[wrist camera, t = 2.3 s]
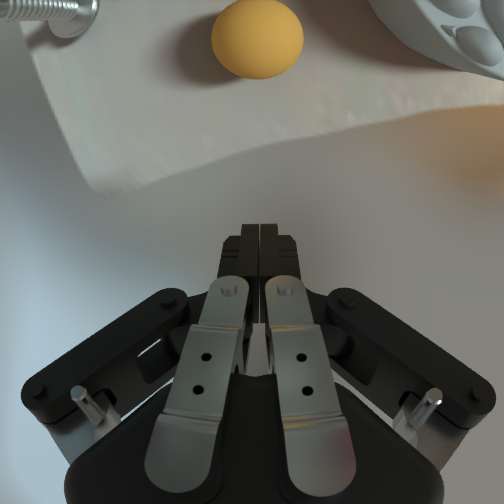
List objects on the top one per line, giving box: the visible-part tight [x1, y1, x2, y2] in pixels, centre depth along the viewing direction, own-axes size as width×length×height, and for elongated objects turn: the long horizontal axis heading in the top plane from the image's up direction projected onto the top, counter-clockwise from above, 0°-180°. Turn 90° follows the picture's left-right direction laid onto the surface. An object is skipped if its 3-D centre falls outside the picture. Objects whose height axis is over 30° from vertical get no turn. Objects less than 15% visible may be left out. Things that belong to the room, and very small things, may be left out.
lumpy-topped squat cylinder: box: [368, 0, 504, 81], centre depth 13 cm, size 10×13×9 cm
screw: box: [0, 0, 100, 38], centre depth 12 cm, size 13×5×5 cm
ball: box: [211, 0, 304, 79], centre depth 18 cm, size 6×6×6 cm
